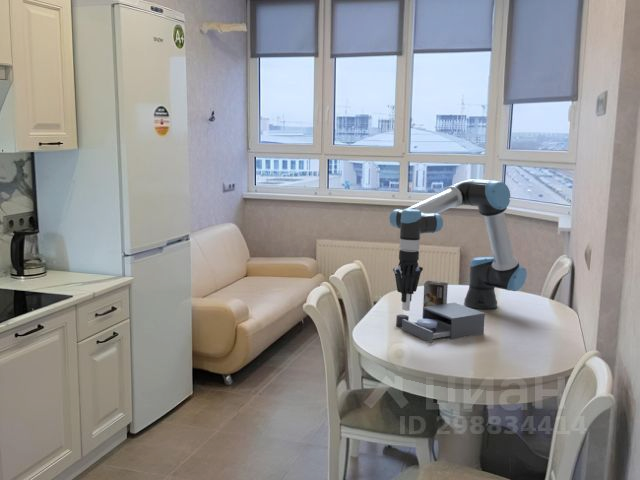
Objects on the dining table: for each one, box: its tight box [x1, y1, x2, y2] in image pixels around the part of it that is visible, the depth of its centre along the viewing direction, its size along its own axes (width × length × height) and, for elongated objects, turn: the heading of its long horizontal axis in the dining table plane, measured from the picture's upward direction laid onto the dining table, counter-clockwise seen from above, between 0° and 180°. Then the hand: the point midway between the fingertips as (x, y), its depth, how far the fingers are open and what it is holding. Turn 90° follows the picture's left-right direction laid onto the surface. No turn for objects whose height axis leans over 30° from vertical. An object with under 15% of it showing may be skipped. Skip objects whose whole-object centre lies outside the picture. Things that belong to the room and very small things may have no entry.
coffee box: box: [422, 280, 449, 308], centre depth 265 cm, size 9×6×16 cm
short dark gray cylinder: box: [395, 314, 410, 328], centre depth 255 cm, size 5×5×4 cm
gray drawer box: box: [422, 302, 486, 340], centre depth 250 cm, size 17×18×8 cm
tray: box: [401, 319, 451, 343], centre depth 245 cm, size 17×18×4 cm
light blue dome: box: [416, 318, 438, 328], centre depth 243 cm, size 8×8×2 cm
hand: (405, 309), depth 236 cm, fingers closed
